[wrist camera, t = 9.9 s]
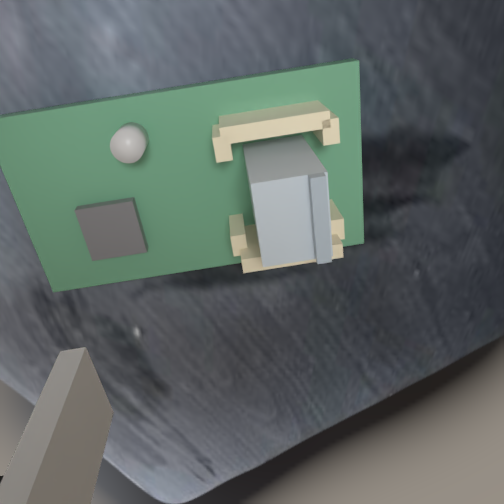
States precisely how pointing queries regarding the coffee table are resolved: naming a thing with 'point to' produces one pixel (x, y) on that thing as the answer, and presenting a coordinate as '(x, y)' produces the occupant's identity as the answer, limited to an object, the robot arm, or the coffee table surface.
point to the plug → (289, 201)
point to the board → (175, 172)
